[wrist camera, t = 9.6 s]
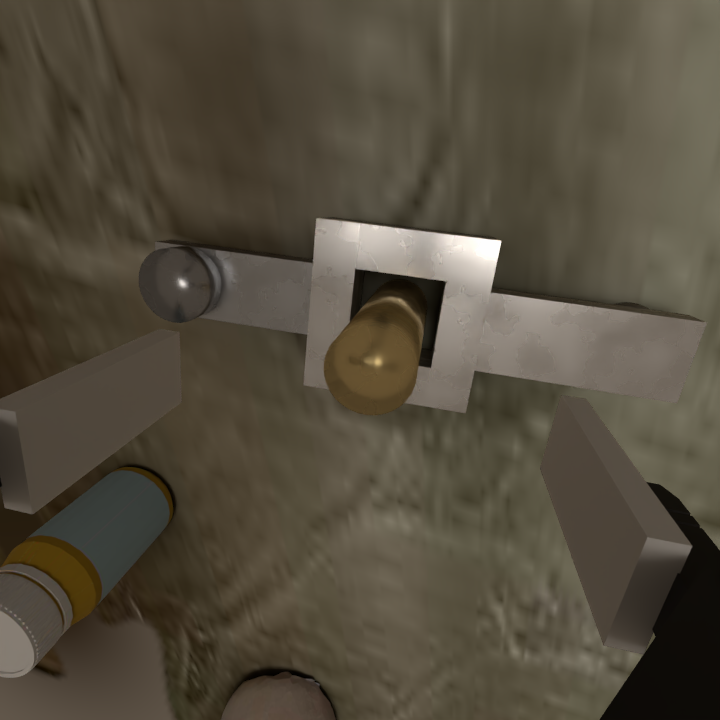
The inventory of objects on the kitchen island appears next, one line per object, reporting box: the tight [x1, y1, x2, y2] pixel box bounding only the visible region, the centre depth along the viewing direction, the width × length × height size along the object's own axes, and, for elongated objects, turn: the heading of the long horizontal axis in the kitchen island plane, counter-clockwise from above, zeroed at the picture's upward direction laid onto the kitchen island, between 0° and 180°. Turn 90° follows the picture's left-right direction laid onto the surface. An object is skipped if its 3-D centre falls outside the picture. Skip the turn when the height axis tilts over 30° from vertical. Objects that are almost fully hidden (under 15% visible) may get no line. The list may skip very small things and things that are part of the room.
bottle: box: [0, 467, 173, 678], centre depth 35 cm, size 7×7×15 cm
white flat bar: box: [139, 217, 707, 413], centre depth 30 cm, size 11×35×4 cm, turn 84°
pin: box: [324, 279, 427, 415], centre depth 26 cm, size 4×4×14 cm
